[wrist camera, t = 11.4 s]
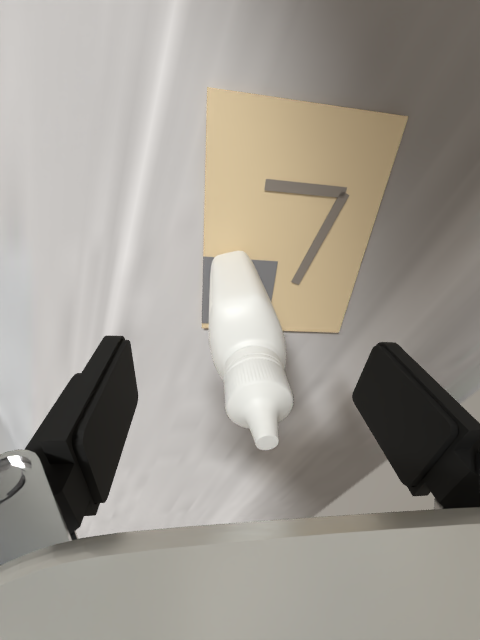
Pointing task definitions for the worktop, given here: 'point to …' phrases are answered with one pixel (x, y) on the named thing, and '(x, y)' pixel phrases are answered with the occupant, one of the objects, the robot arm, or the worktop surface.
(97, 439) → the robot arm
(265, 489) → the worktop surface
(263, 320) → the eye dropper bottle
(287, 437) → the worktop surface
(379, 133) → the card
